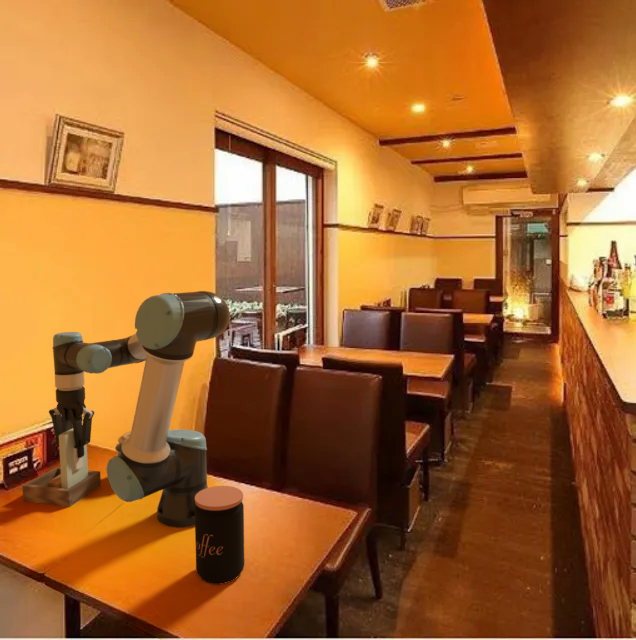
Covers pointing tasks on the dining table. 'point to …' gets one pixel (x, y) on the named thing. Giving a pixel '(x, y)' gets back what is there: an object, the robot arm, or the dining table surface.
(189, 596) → the dining table surface
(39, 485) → the tray
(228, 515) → the coffee jar
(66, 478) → the panel
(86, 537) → the dining table surface
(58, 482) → the offcut top
